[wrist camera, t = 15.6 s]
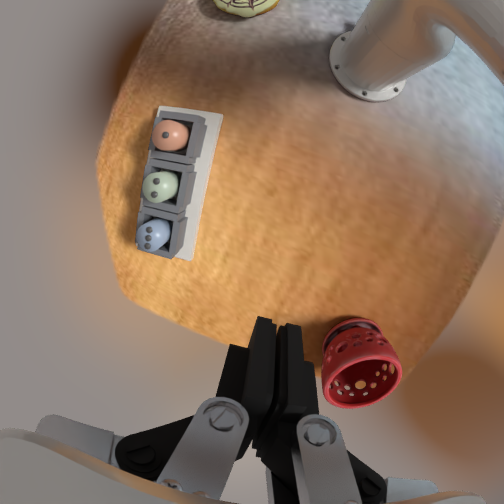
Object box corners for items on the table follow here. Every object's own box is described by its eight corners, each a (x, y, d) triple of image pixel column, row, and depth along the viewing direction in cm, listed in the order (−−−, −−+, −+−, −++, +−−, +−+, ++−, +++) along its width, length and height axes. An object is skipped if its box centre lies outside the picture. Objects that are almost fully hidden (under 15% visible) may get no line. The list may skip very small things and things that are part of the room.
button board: (163, 107, 37) (149, 101, 32) (223, 115, 37) (216, 109, 32) (139, 242, 45) (125, 252, 40) (193, 258, 44) (183, 269, 40)
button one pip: (170, 122, 35) (155, 118, 30) (195, 126, 35) (183, 121, 30) (164, 148, 36) (148, 148, 32) (189, 152, 36) (176, 152, 31)
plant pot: (309, 324, 46) (315, 370, 35) (379, 302, 44) (403, 343, 33) (323, 373, 50) (330, 418, 39) (385, 354, 47) (403, 396, 36)
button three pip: (153, 213, 40) (137, 221, 35) (176, 219, 40) (162, 227, 35) (149, 237, 41) (134, 248, 36) (172, 244, 41) (159, 255, 36)
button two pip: (160, 168, 37) (144, 170, 33) (185, 173, 37) (171, 175, 33) (155, 194, 39) (139, 199, 34) (179, 199, 39) (166, 206, 34)
